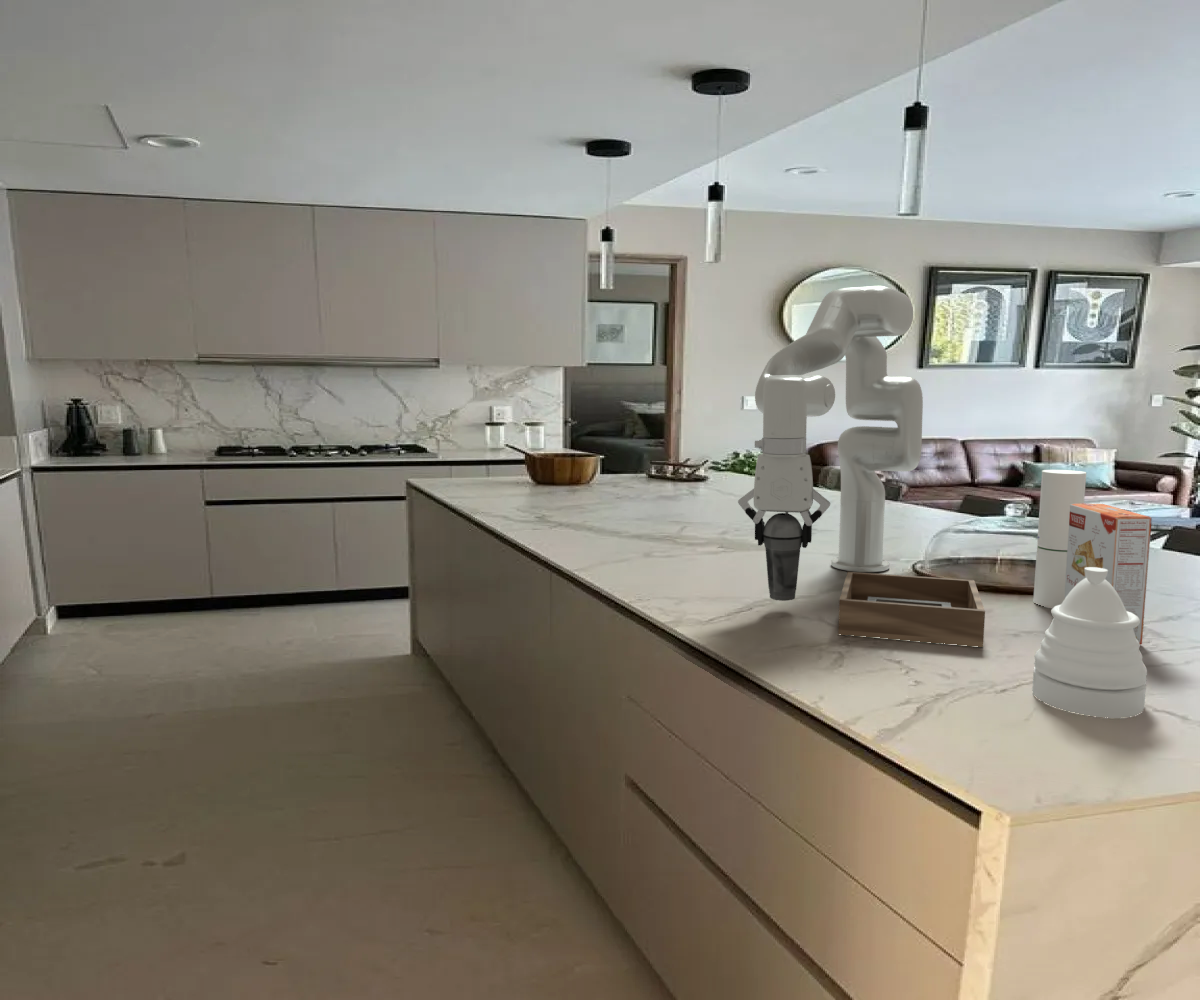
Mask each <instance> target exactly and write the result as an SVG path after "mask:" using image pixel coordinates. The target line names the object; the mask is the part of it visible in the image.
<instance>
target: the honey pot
mask: <svg viewBox="0 0 1200 1000" xmlns="http://www.w3.org/2000/svg"><path fill="white" fill-rule="evenodd" d="M1084 571H1085V576H1086V578H1085V579H1083V580H1082V581H1080V582H1079V583H1078V584H1077V585H1076V586H1075V587H1074V588H1073V589H1072V590H1071V591H1070V592H1069V594H1068V595H1067V596H1066V598H1065V599H1064V601H1063V602H1062V604H1061V605H1058V606H1055V607H1054V608H1051V610H1050V612H1051V616H1052V617H1053V619H1052V620H1051V623H1050V624H1049V626H1048V628H1047V629H1046V630H1045V631H1044V637H1043V639H1042V640H1041V641H1040V647H1039V648H1038V650H1036V652H1035V654H1034V662H1033V665H1034V667H1033V672H1032V673H1033V674H1032V675H1033V676H1032V688H1031V691H1033V693H1032V695H1033V694H1034V695H1035V696H1036V697H1037V698H1038V699H1040V700H1041V701H1043V702H1045V703H1047V704H1049V705H1051V706H1054V707H1056V708H1060V709H1063V710H1066V711H1070V712H1075V713H1079V714H1084V715H1090V716H1096V717H1104V718H1103V719H1108V718H1120V719H1122V718H1121V717H1130V716H1135V715H1137V714H1139V713H1141V712H1142V711H1143V712H1144V710H1145V703H1146V690H1147V684H1146V682H1147V676H1148V670H1147V667H1146V665H1145V664H1144V661H1143V654H1142V653H1141V651H1140V647H1141V645H1140V644H1139V642H1138V640H1137V639H1136V637H1135V633H1134V630H1133V628H1135V627H1137V626H1138V625H1139V624H1140V620H1139V618H1138V616H1136V615H1134V614H1133V613H1131V612H1128V611H1126V609H1125V607H1124V605H1123V603H1122V601H1121V599H1120V597H1119V595H1118V594H1117V592H1116V590H1115V589H1114V588H1113V586H1112V585H1111V584H1110V583H1109V582H1108V581H1107V580H1105V578H1106V576H1107V573H1108V570H1107V569H1103V568H1097V567H1086V568H1085V569H1084ZM1034 695H1033V696H1034ZM1041 701H1040V702H1041ZM1051 706H1050V707H1051ZM1143 709H1144V710H1143ZM1143 712H1142V713H1143ZM1096 717H1095V718H1096ZM1105 717H1106V718H1105ZM1107 717H1108V718H1107ZM1135 717H1136V716H1135ZM1130 718H1131V717H1130Z"/></svg>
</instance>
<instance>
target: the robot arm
mask: <svg viewBox="0 0 1200 1000" xmlns="http://www.w3.org/2000/svg"><path fill="white" fill-rule="evenodd" d="M913 319H914V308H913V303H912V301H911V299H910V297H908V296H907V294H905V293H904V292H901V291H899V290H896V289H894V288H892V287H887V286H884V285H871V286H856V287H854V286H853V287H842V288H838V289H837V288H836V289H833V290H832V291H829V292H828V293H826V295H825V296H824V297H823V299H822V300H821V302H820V305H819V307H818V308H817V310H816V313H815V314H814V317H813V318H812V321H811V322H810V325H809V327H808V329H807V331H806V333H805V334H804V335H803V336H800V337H799V338H797V339H796V340H794V341H792V342H790V343H789V344H788V345H786V346H784V347H783V348H782V349H780V350H779V351H777V352H776V353H775V354H774V355H772V356H771V358H769V360H768V361H767V363H766V365H765V366H764V369H763V371H762V372H761V375H760V376H759V378H758V382H757V384H756V387H755V392H754V401H755V405H756V408H757V409H758V410H759V411H760V412H761V413H762V414H763V415H762V417H763V418H762V423H763V424H762V438H761V439H759V440H754V448H755V449H759V450H761V452H762V453H761V454H759V455H757V460H756V465H755V472H754V474H755V475H754V483H753V484H754V485H753V488H752V489H751V490H750V491H748V492H747V493H746V494H744V495H743V496H741V498H740V497H739V499H738V500H737V503H738V505H739V507H740V508H741V509H742V510H743V511H744V513H745V514H746V515H747V516H748V517H749V518H750V520H751V521H752V523H754V540H755V541H757V545H758V546H762V545H763V544H764V540H763V531H764V527H765V524H766V523H765V522H764V516H765V514H766V513H767V512H773V513H774V512H775V513H785V512H788V513H799V514H800V516H801V518H802V520H803V525H802V526H801V527H802V545H801V548H803V549H806V548H807V547H808V546H809V543H810V544H811V543H812V538H813V537H812V532H813V528H812V527H813V524H814V523H816V521H818V520H819V519H820V518H821V516H823V514H824V513H825V512H826V511H827V510H828V509H829V508H830V506H831V502H830V501H829V500H828V499H827V498H825V497H824V496H823V495H822V494H821V493H819V492H818V491H817V490H816V489H814V481H813V477H814V476H813V469H812V468H813V467H812V461H811V457H810V456H811V455H810V454H807V424H808V423H807V421H808V419H807V418H808V417H820V416H824V415H825V414H827V413H828V412H829V411H830V410H831V409H832V408H833V407H834V403H835V400H836V390H835V386H834V383H832V381H831V380H830V379H829V378H827V377H825V376H823V375H819V374H817V375H816V374H809V373H813V372H816V371H819V370H822V369H825V368H828V367H830V366H833V365H835V364H837V363H838V362H840V361H841V360H843V359H844V358H845V408H846V414H847V415H848V416H849V417H850V418H851V419H854V420H859V421H874V422H875V421H880V422H881V421H882V422H895V423H896V425H897V427H893V426H892V427H891V426H890V427H888V426H887V427H886V426H884V427H883V426H864V425H863V426H861V425H860V426H852V427H850V428H846V429H845V430H843V432H841V434H840V435H839V437H838V440H837V453H838V461H839V468H840V469H839V470H840V500H839V501H840V502H839V503H840V504H839V532H838V534H839V535H838V556H837V557H834V558H832V559H831V560H830V562H831V563H830V565H831V566H832V568H835V569H838V570H841V571H847V572H859V573H877V572H884V571H887V570H890V564H891V563H889V561H887V560H885V559H883V555H884V553H883V552H884V536H885V535H884V533H885V532H884V531H885V506H886V504H885V503H886V490H885V485H884V483H883V481H882V480H881V479H880V477H879V476H878V474H877V473H876V471H878V472H879V471H883V472H904V473H907V472H912V471H913V470H915V469H916V468H917V467H919V464H920V460H921V456H922V442H923V407H924V406H923V405H924V402H923V398H924V397H923V390H922V387H921V385H920V383H919V382H918V381H917V380H916V378H913V377H908V376H888V369H887V366H888V365H887V363H888V362H887V360H888V356H887V355H888V354H887V351H886V348H885V346H884V345H883V343H882V342H881V341H880V339H879V338H878V337H897V336H903V335H904V334H906V333H907V332H908V331H909V330H910V329H911V326H912V323H913ZM752 499H753V507H754V508H755V509H756V510H757V511H756V510H755V509H754V508H753V507H752V506H751V504H750V503H749V501H751V500H752ZM814 501H815V502H816V503H817V504H819V507H818V508H817V509H816V510H815V511H814V512H812V513H811V512H810V510H811V508H812V506H813V502H814Z"/></svg>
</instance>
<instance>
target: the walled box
mask: <svg viewBox="0 0 1200 1000" xmlns="http://www.w3.org/2000/svg"><path fill="white" fill-rule="evenodd" d="M842 586H843V587H842V590H841V594H840V596H839V600H838V603H839V605H838V627H837V628H838V629H837V630H838V634H841V635H854V636H866V637H880V638H888V639H900V640H910V641H920V642H931V643H943V644H944V643H945V644H957V645H967V646H978V647H983V648H984V636H985V635H984V634H985V619H986V610H985V607H984V605H983V601H982V599H981V596H980V592H979V591H978V587H977V585H976V581H975V580H974V579H965V578H964V579H962V578H949V577H948V578H946V577H931V576H915V575H903V574H901V575H900V574H886V573H875V572H854V571H847V572H846V576H845V579H844V582H843V585H842Z"/></svg>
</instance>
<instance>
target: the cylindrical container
mask: <svg viewBox="0 0 1200 1000" xmlns="http://www.w3.org/2000/svg"><path fill="white" fill-rule="evenodd" d="M1086 482H1087V472H1086V471H1082V470H1073V469H1072V470H1071V469H1043V470H1041V484H1040V495H1039V496H1040V497H1039V499H1040V500H1039V509H1038V510H1039V513H1038V514H1039V515H1038V528H1037V540H1036V541H1037V542H1036V543H1037V544H1036V559H1035V569H1034V570H1035V572H1034V573H1035V574H1034V585H1033V586H1034V587H1033V588H1034V589H1033V602H1034V603H1036V604H1038V605H1037V606H1039V605H1041V606H1040V607H1042V606H1044V607H1043V608H1047V609H1053V608H1054V607H1055V606H1058V605H1061V604H1062V602H1063V601H1064V595H1065V580H1066V564H1067V549H1068V532H1069V516H1070V505H1071V504H1082V503H1084V504H1085V497H1086V495H1085V494H1086ZM1034 603H1033V604H1034ZM1036 604H1035V605H1036Z"/></svg>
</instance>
